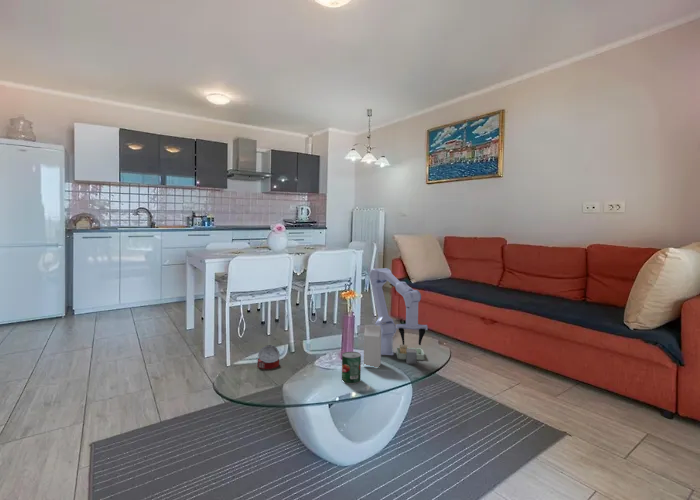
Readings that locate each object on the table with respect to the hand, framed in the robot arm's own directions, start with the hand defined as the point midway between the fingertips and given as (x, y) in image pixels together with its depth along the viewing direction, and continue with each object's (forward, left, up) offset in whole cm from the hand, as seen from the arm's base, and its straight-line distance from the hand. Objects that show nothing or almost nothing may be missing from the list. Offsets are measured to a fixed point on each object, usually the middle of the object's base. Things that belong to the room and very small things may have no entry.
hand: (411, 344), depth 175 cm
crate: (0, +10, -9) cm, 13 cm away
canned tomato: (-28, -23, -9) cm, 37 cm away
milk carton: (-19, -5, -9) cm, 21 cm away
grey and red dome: (-67, -8, -10) cm, 68 cm away
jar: (-3, +10, -9) cm, 13 cm away
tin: (0, 0, -9) cm, 9 cm away
